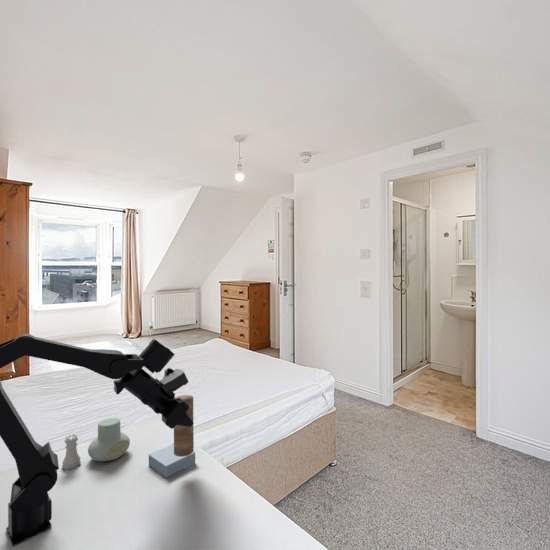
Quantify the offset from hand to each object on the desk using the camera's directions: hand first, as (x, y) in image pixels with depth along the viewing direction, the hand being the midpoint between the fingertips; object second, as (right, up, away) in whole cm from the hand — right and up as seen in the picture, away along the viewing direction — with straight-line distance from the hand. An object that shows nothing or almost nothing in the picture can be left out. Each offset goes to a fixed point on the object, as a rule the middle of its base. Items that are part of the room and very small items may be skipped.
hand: (188, 421), depth 89 cm
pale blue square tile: (-6, -14, +4) cm, 15 cm away
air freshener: (-25, -14, +8) cm, 30 cm away
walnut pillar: (-1, -8, -1) cm, 8 cm away
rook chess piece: (-34, -14, +4) cm, 37 cm away
